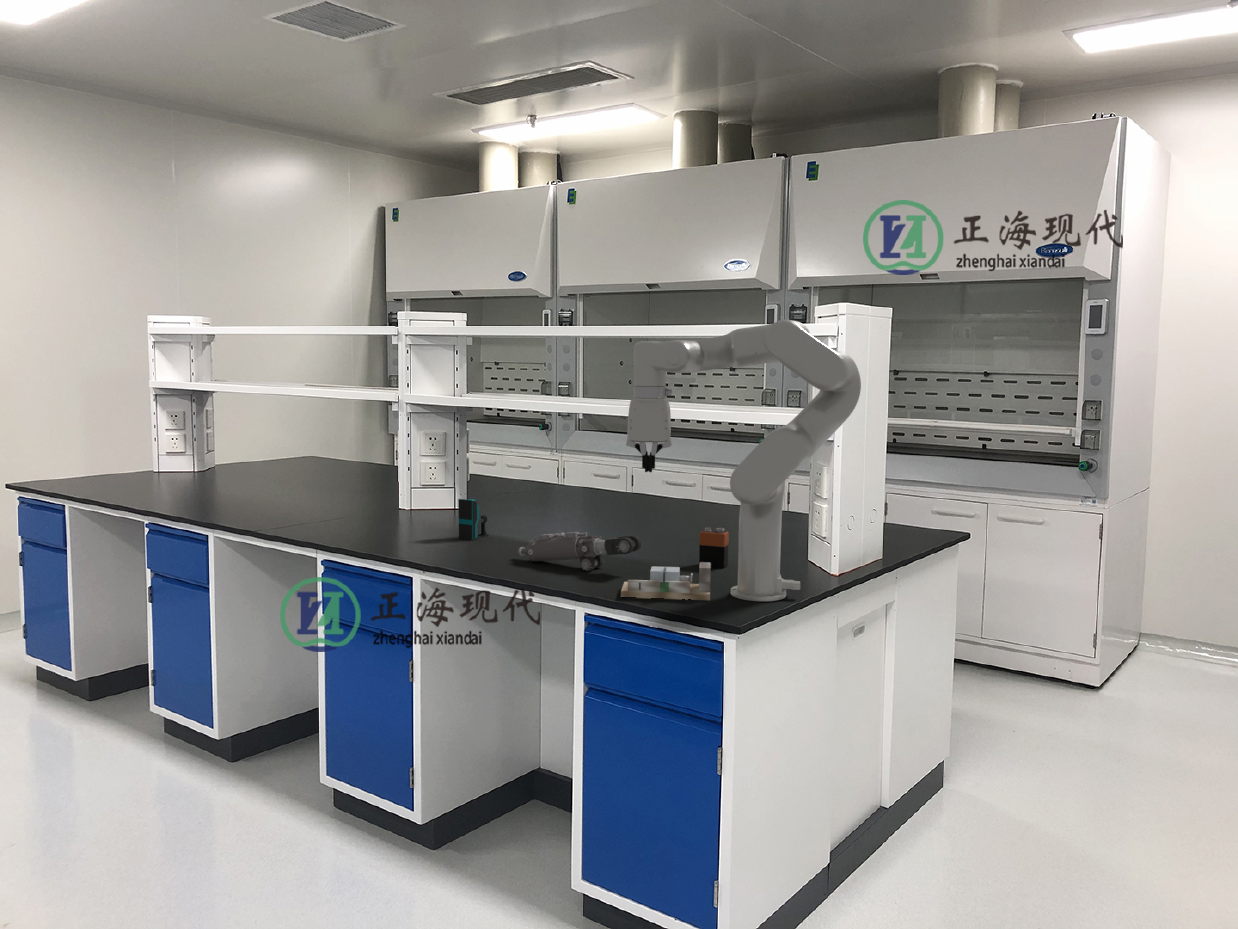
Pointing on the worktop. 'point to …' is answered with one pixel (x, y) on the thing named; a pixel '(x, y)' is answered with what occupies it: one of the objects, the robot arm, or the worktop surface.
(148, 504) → the worktop surface
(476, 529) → the black teal case
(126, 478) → the worktop surface
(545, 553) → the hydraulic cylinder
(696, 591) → the gauge stand
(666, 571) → the force gauge
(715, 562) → the battery
